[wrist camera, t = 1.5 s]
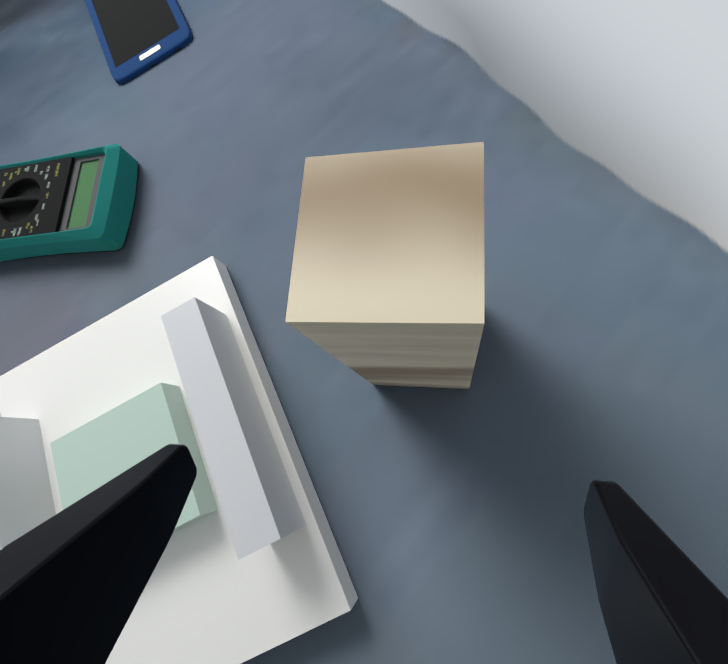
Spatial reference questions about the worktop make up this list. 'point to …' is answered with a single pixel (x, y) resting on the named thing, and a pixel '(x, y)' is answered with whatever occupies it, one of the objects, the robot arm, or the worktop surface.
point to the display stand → (211, 456)
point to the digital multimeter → (67, 203)
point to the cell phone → (138, 33)
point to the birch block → (393, 263)
